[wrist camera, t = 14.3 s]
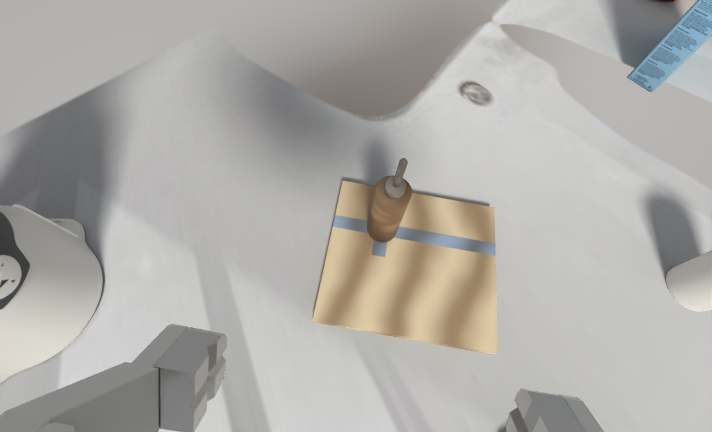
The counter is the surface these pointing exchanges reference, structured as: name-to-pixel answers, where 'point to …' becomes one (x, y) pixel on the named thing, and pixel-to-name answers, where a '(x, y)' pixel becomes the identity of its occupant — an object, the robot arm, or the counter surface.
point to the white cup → (692, 283)
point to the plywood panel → (413, 272)
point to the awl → (389, 205)
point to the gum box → (675, 46)
